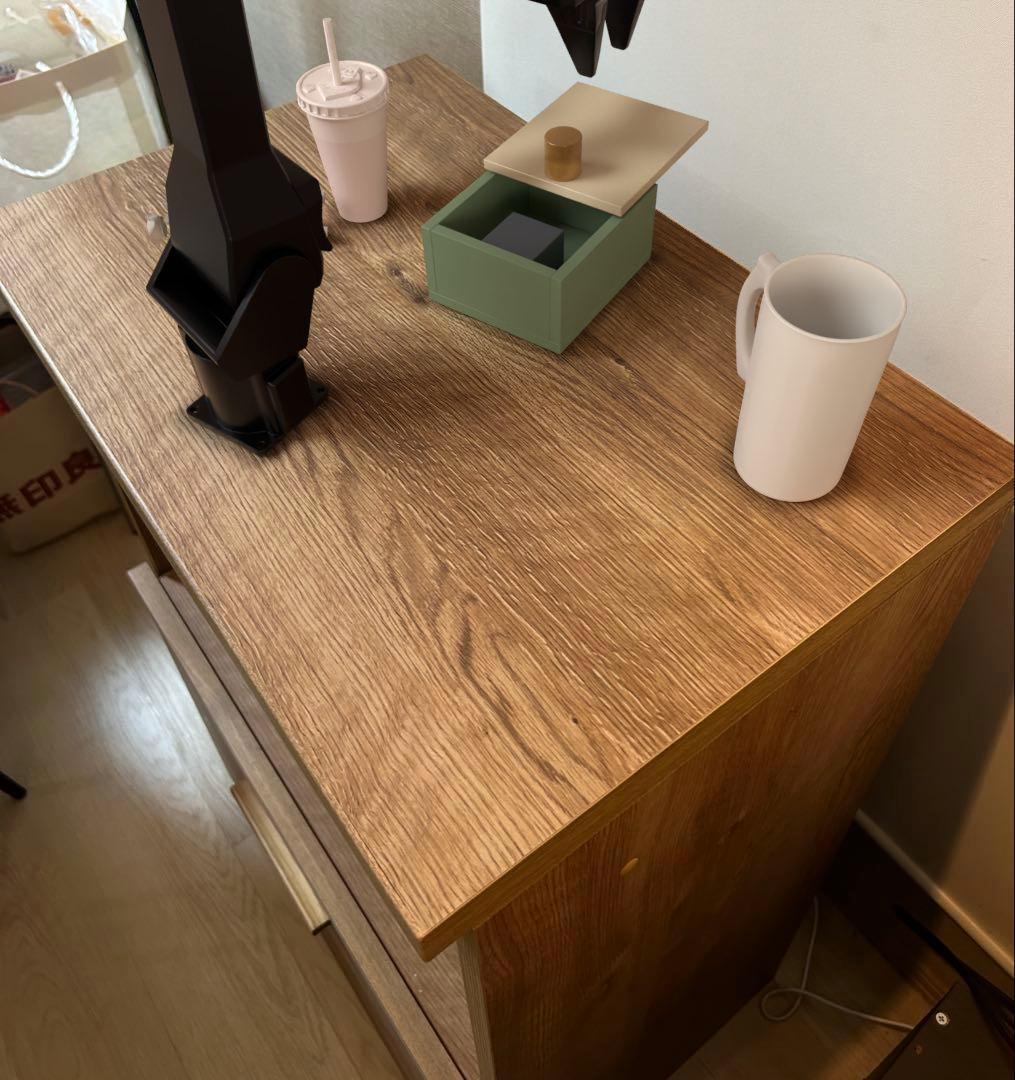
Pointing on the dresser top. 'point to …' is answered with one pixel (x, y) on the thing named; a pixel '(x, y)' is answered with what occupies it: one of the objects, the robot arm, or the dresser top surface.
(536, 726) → the dresser top surface
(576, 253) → the box
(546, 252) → the block
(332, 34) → the smoothie
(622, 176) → the slide lid
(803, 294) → the mug
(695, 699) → the dresser top surface
